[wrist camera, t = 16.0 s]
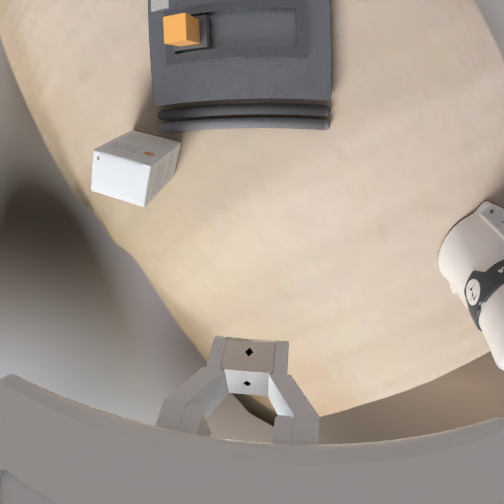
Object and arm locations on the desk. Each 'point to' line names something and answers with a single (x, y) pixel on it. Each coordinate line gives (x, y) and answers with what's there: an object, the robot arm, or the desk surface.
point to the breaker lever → (187, 31)
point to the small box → (134, 167)
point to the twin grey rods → (247, 121)
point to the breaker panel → (244, 51)
